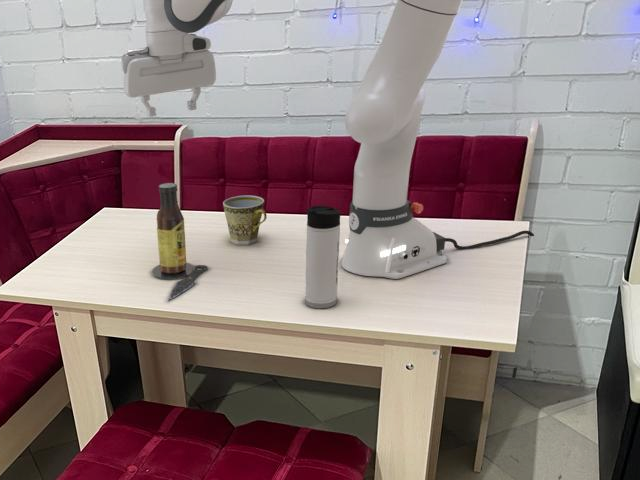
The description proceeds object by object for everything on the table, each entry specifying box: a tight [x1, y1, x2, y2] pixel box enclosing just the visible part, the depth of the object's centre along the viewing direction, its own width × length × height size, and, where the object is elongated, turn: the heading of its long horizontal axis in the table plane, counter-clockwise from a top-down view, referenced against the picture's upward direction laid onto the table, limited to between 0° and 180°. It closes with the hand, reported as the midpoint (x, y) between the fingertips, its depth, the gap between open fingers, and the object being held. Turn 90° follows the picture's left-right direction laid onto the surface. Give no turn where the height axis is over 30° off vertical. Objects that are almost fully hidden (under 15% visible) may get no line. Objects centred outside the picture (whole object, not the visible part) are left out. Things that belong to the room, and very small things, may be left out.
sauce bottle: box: [156, 182, 187, 274], centre depth 169 cm, size 7×6×20 cm
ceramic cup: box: [222, 195, 267, 246], centre depth 184 cm, size 13×10×10 cm
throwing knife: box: [168, 264, 209, 301], centre depth 167 cm, size 4×20×1 cm, turn 153°
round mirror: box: [151, 262, 195, 281], centre depth 174 cm, size 10×10×1 cm
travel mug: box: [304, 205, 341, 309], centre depth 147 cm, size 6×7×20 cm
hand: (171, 112), depth 164 cm, fingers open, 8 cm apart
